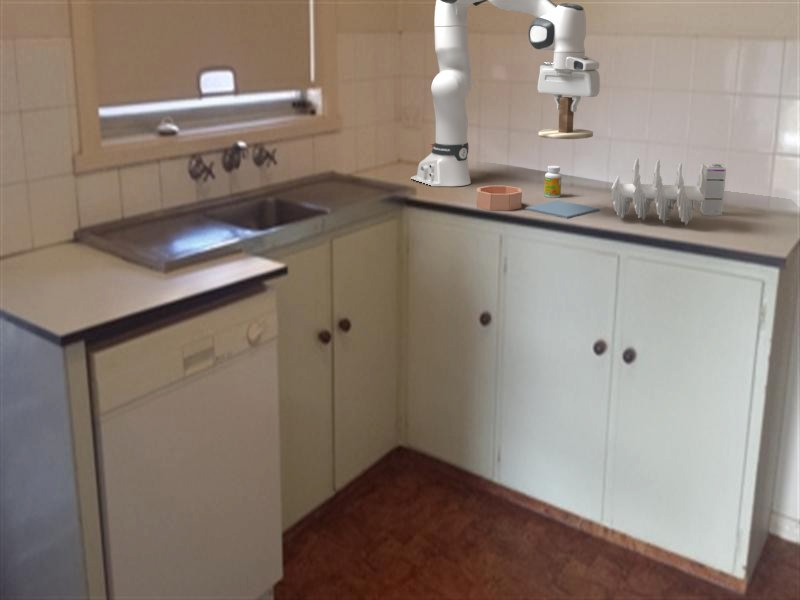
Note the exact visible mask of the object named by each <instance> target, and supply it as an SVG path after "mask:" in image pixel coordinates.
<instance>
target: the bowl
mask: <svg viewBox="0 0 800 600" xmlns="http://www.w3.org/2000/svg"><path fill="white" fill-rule="evenodd" d="M522 193H523V191H522V188H520V187H517V186H516V187H515V186H510V185H486V186H480V187H476V208H479V209H482V210H486V211H496V212H497V211H498V212H499V211H503V212H504V211H505V212H506V211H507V212H508V211H514V210H519V209H522V201H523V200H522V197H523V196H522V195H523V194H522Z"/></svg>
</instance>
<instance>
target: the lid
mask: <svg viewBox="0 0 800 600" xmlns="http://www.w3.org/2000/svg"><path fill="white" fill-rule="evenodd" d="M573 101H574V100H572V96H571V97H570V96H562V98H560V105H559V111H558V128H547V129H542V130H539V131H538V133H537V136H538V137H540V138H545V139H554V140H578V139H579V140H582V139H589V138H592V137H593V136H594V131H593V130H589V129H581V128H574V117H575V116H574V115H575V114H574V113H575V112H569V106H570V105H572V103H573Z"/></svg>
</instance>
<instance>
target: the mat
mask: <svg viewBox="0 0 800 600" xmlns="http://www.w3.org/2000/svg"><path fill="white" fill-rule="evenodd" d="M600 209H601V208H600V207H595V206H591V205H590V206H589V205H583V204H580V203H579V204H578V203H574V202H570V201H564V200H558V199H557V200H552V201H548V202H544V203H540V204H536V205H529V206H526V207H524V210H526V211H529V212H535V213H540V214H544V215H550V216H553V215H555V217H558V216H559V218H563V217H564V218H563V219H571V218H575V217H579V216H581V215H586V214H590V213H593V212H598V211H600ZM570 217H571V218H570Z"/></svg>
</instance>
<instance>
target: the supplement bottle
mask: <svg viewBox="0 0 800 600" xmlns="http://www.w3.org/2000/svg"><path fill="white" fill-rule="evenodd" d="M560 170H561V166H560V165H548V166H547V172H546V173H545V174H544V186H543V187H544V188H543V196H544V197H546V198H553V199H554V198H559V197H561V196H562V195H561V191H562V174H561V173H560Z"/></svg>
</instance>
